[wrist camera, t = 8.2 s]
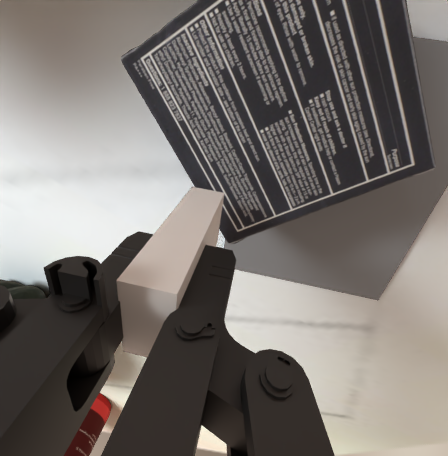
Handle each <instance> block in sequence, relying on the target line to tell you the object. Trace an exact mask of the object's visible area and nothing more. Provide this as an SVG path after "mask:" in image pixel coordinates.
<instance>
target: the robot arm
mask: <svg viewBox="0 0 448 456" xmlns="http://www.w3.org/2000/svg"><path fill="white" fill-rule="evenodd" d="M223 199H224V193H222V192H217V191H212V190H207V189H202V188H196V187H192V188H191V189H190V190H189V191H188V193H187V194H186V195H185V196H184V198H183V199H182V200H181V201H180V203H179V204H178V205H177V206H176V208H175V209H174V210H173V211H172V212H171V214H170V215H169V216H168V217H167V219H166V220H165V221H164V222H163V224H162V225H161V226H160V227H159V229H158V230H157V231H156V232H155V233H154V235H153V234H148V233H144V232H137V233H135V234H133V235H131V236H129V237H127V238H126V239H125V240H124V241H123V242H122V243H121V244H120V245H119V246H118V248H116V249H115V250H114V251H113V252H112V254H111V255H109V256H108V257H107V258H106V259H105V260H104V261H103V262H102V263H101V264H100V263H99V262H98V260H95V259H93V258H90V257H83V256H75V257H67V258H63V259H60V260H57V261H54V262H52V263H51V264H49V265H47V266H46V267H44V271H45V275H46V279H47V282H48V286H49V289H50V293H51V295H50V296H49V297H48V298H42V299H12V296H11V294H10V292H9V290H8V289H7V288H6V287H5V286H1V285H0V456H64V454H65V452H66V451H67V449H68V447H69V445H70V444H71V442H72V440H73V438H74V436H75V435H76V433H77V431H78V429H79V428H80V426H81V424H82V422H83V421H84V419H85V417H86V415H87V414H88V412H89V410H90V408H91V407H92V405H93V403H94V401H95V399H96V398H97V396H98V394H99V392H100V391H101V389H102V387H103V385H104V384H105V382H106V380H107V378H108V377H109V375H110V373H111V371H112V369H113V366H114V363H115V361H114V352H115V351H116V349H117V347H118V346H119V344H120V342H121V341H122V343H123V351H124V352H128V353H132V354H136V355H140V356H144V357H147V359H146V361H145V363H144V366H143V368H142V370H141V372H140V374H139V376H138V378H137V380H136V383H135V385H134V387H133V389H132V391H131V393H130V395H129V397H128V400H127V402H126V404H125V406H124V408H123V410H122V412H121V414H120V417H119V419H118V421H117V423H116V425H115V427H114V429H113V431H112V434H111V436H110V438H109V440H108V442H107V444H106V446H105V448H104V451H103V453H102V455H101V456H195V453H196V448H197V444H198V439H199V434H200V430H201V425H203V426H204V427H205V428H206V429H208V430H209V431H210V432H212V433H213V434H214V435H216V436H217V437H218V438H219V439H221V440H222V441H223V442H225V443H226V444H227V456H334V453H333V450H332V447H331V444H330V441H329V438H328V435H327V432H326V429H325V426H324V423H323V420H322V417H321V414H320V412H319V409H318V406H317V403H316V400H315V397H314V394H313V391H312V388H311V385H310V382H309V379H308V378H307V376H306V374H305V372H304V370H303V368H302V367H301V366H300V365H299V364H298V363H297V362H296V361H295V360H294V359H293V358H292V357H291V356H289V355H287V354H285V353H283V352H282V351H277V350H272V349H268V350H262V351H259V352H257V353H256V354H255V353H254V352H252V351H250V350H248V349H247V348H245V347H243V346H242V345H240V344H239V343H238V342H236V341H235V340H234V339H233V338H232V337H231V336H230V334H229V333H228V331H227V329H226V326H225V322H224V318H225V313H226V308H227V304H228V299H229V294H230V290H231V285H232V280H233V275H234V270H235V265H236V258H235V255H234V253H233V250H228V249H224V248H219V247H216V244H217V240H218V233H219V226H220V219H221V212H222V206H223Z"/></svg>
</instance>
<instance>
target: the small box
mask: <svg viewBox="0 0 448 456" xmlns="http://www.w3.org/2000/svg"><path fill="white" fill-rule="evenodd" d="M121 60H122V63H123V65H124V67H125V69H126V70H127V72H128V74H129V75H130V77H131V79H132V80H133V82H134V83H135V85H136V87H137V89H138V91H139V92H140V94H141V96H142V98H143V99H144V100H145V102H146V104H147V106H148V107H149V109H150V111H151V113H152V114H153V116H154V117H155V119H156V121H157V123H158V124H159V126H160V128H161V130H162V131H163V133H164V135H165V136H166V138H167V140H168V141H169V143H170V145H171V146H172V148H173V150H174V152H175V153H176V155H177V157H178V158H179V160H180V162H181V164H182V165H183V167H184V169H185V171H186V172H187V174H188V175H189V177H190V179H191V181H192V182H193V184H194V186H195V187H196V188H202V189H207V190H212V191H217V192H222V193H224V199H223V206H222V212H221V219H220V226H219V229H220V231H221V232H222V234H223V236H224V238H225V239H226V241H227V242H228V243H229V244H236V243H238V242H239V241H241V240H243V239H245V238H247V237H249V236H251V235H254V234H257V233H260V232H262V231H265V230H268V229H270V228H273V227H276V226H278V225H281V224H284V223H287V222H290V221H292V220H295V219H298V218H301V217H303V216H306V215H308V214H311V213H314V212H317V211H319V210H322V209H324V208H327V207H330V206H333V205H335V204H338V203H340V202H343V201H346V200H349V199H351V198H354V197H357V196H359V195H362V194H365V193H367V192H371V191H373V190H375V189H378V188H380V187H383V186H386V185H389V184H392V183H394V182H397V181H400V180H403V179H405V178H409V177H413V176H416V175H420V174H423V173H427V172H429V171H432V170H433V169H435V167H436V165H435V158H434V152H433V147H432V141H431V136H430V131H429V125H428V120H427V114H426V109H425V104H424V98H423V93H422V88H421V81H420V76H419V70H418V64H417V59H416V53H415V47H414V42H413V37H412V31H411V26H410V20H409V15H408V9H407V3H406V0H198V1H197V2H195V3H194V4H193V5H192V6H190V7H189V8H188V9H187V10H185V11H184V12H182V13H181V14H179V15H178V16H177V17H175V18H174V19H173V20H171V21H170V22H169V23H168V24H166V25H165V26H164V27H163V28H162V29H161V30H160V31H159V32H158V33H156V34H154V35H153V36H152V37H150V38H149V39H148V40H146V41H145V42H144V43H143V44H142V45H140V46H138V47H136V48H134V49H131V50H130V51H128V52H127V53H126V54H124V55H123V56H122V58H121Z"/></svg>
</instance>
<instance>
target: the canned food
mask: <svg viewBox="0 0 448 456" xmlns="http://www.w3.org/2000/svg"><path fill="white" fill-rule="evenodd" d="M110 411H111V404H110V402H109V400H108V399H107V398H106V397H105V396H103V395H102V394H100V393H99V394H98V396H97V398H96V399H95V401H94V403H93V405H92V407H91V408H90V410H89V412H88V414H87V415H86V417H85V419H84V421H83V422H82V424H81V426H80V428H79V429H78V431H77V433H76V435H75V436H74V438H73V440H72V442H71V444H70V445H69V447H68V449H67V451H66V452H65V454H64V456H89V455H90V453H91V451H92V449H93V447H94V445H95V443H96V441H97V439H98V437H99V435H100V433H101V431H102V429H103V427H104V425H105V423H106V421H107V419H108V417H109V415H110Z"/></svg>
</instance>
